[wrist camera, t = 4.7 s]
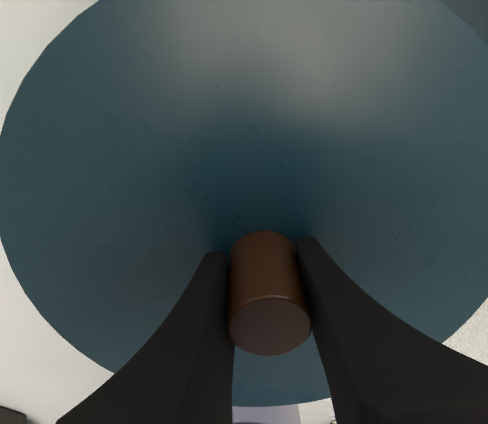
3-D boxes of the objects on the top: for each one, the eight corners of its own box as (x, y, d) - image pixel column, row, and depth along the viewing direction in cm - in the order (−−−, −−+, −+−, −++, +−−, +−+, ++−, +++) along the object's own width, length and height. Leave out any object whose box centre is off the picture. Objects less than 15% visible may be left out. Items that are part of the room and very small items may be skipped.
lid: (472, 361, 18) (534, 458, 14) (116, 405, 19) (87, 504, 15) (576, -121, 9) (825, -204, 5) (-110, 25, 10) (-313, 43, 6)
